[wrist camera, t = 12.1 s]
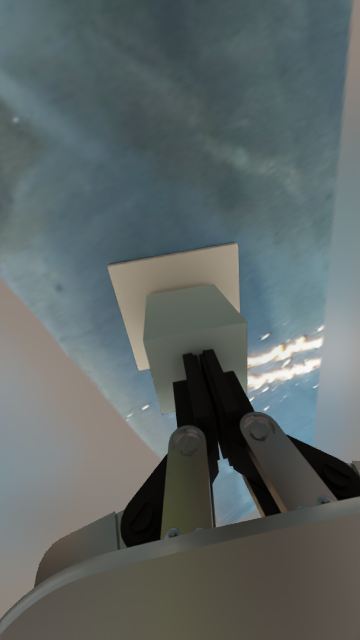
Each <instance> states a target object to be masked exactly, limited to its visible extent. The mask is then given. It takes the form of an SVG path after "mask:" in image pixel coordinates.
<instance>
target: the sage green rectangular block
mask: <svg viewBox="0 0 360 640" xmlns="http://www.w3.org/2000/svg"><path fill="white" fill-rule="evenodd" d="M143 344H144V348H145V351H146V355H147V359H148V363H149V367H150V371H151V374H152V378H153V382H154V386H155V390H156V394H157V397H158V401H159V405H160V409H161V413H162V415H163V414H168V413H173V412H176V410H175V401H174V393H173V382H176V381H181V380H186V374H185V368H184V363H183V357H182V355H183V354H188V353H192V354H193V355H197V358H198V361H199V364H200V368H201V363H200V355H199V354H203V351H204V350H209V349H213V350H214V352H215V354H216V356H217V359H218V361H219V363H220V365H221V368H222V370H223V372H227V371H232V370H233V371H234V372H235V374H236V376H237V378H238V380H239V382H240V384H241V386H242V388H243V390H244V392H245V394H246V396H247V321H246V320H245V319H244V318H243V317H242V316H241V315H240V313H239V312H238V311H237V310H236V309H235V308H234V306H233V305H232V304H231V303H230V302H229V301H228V300H227V298H226V297H225V296H224V295H223V294H222V293H221V292H220V290H219V289H218V288H217V287H216V286H215V285H214V284H210V285H204V286H198V287H193V288H187V289H181V290H175V291H169V292H164V293H158V294H152V295H147V297H146V309H145V321H144V333H143ZM201 371H202V370H201Z"/></svg>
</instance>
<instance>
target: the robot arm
mask: <svg viewBox="0 0 360 640" xmlns="http://www.w3.org/2000/svg"><path fill="white" fill-rule="evenodd" d="M199 355H200V363H201V368H200V364H199V361H198V358H197V355H193V354H192V353H188V354H183V355H182V357H183V363H184V368H185V374H186V380H181V381H176V382H173V393H174V401H175V410H176V419H177V428H178V429H176V430H175V431H174V432H173V433H172V435H171V437H170V440H169V445H168V453H167V455H166V456H165V457H164V458H163V460H162V461H161V462H160V464H159V465H158V466H157V467H156V469H155V470H154V471H153V473H152V474H151V475H150V477H149V478H148V479H147V480H146V482H145V483H144V484H143V485H142V487H141V488H140V489H139V491H138V492H137V493H136V494H135V496H134V497H133V498H132V500H131V501H130V502H129V503H128V505H127V507H126V508H125V510H123V511H121V512H119V513H117V514H116V513H115V512H113V513H111V514H109V515H107V516H105V517H103V518H101V519H99V520H97V521H95V522H93V523H91V524H89V525H87V526H85V527H83V528H81V529H79V530H77V531H75V532H73V533H71V534H69V535H67V536H65V537H63V538H61V539H59V540H58V541H56V542H55V543H54V544H52V546H51V547H50V548H49V549H48V550H47V552H46V553H45V554H44V556H43V558H42V560H41V562H40V564H39V567H38V571H37V574H36V580H35V585H34V588H33V589H32V590H31V591H29V592H28V593H27V594H26V595H24V596H23V597H22V598H21V599H20V600H19V601H18V602H17V603H16V604H14V605H13V606H12V607H11V608H10V609H9V610H8V611H7V612H6V613H5V614H4V616H3V617H2V618H1V619H0V640H360V461H352V463H351V464H349V463H345V462H343V461H341V460H339V459H338V458H336V457H333V456H331V455H329V454H327V453H325V452H323V451H321V450H318V449H316V448H314V447H312V446H310V445H308V444H306V443H304V442H301V441H299V440H297V439H295V438H293V437H291V436H289V435H286V434H285V433H284V432H283V430H282V429H281V428H280V426H279V425H278V424H277V423H276V421H275V420H274V419H273V418H272V417H270V416H269V415H267V414H265V413H261V412H255V411H254V409H253V407H252V405H251V403H250V401H249V399H248V397H247V396H246V394H245V392H244V390H243V388H242V386H241V384H240V382H239V380H238V378H237V376H236V374H235V372H234V371H233V370H232V371H227V372H223V370H222V368H221V365H220V363H219V361H218V359H217V356H216V354H215V352H214V350H213V349H209V350H204V351H203V354H199ZM201 370H202V371H201ZM218 442H219V446H220V449H221V453H222V456H223V459H226V458H228V461H229V465H230V466H233V468H234V470H236V471H237V472H239V473H240V474H242V477H243V480H244V482H245V484H246V486H247V488H248V490H249V492H250V494H251V496H252V498H253V500H254V502H255V504H256V506H257V509H258V511H259V513H260V515H261V517H262V518H257V519H253V520H248V521H244V522H239V523H235V524H230V525H225V526H221V527H216V518H215V506H214V494H213V482H214V480H215V478H216V477H217V475H218V473H219V470H218V461H217V460H220V456H219V447H218Z"/></svg>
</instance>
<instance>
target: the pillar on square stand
mask: <svg viewBox="0 0 360 640" xmlns="http://www.w3.org/2000/svg"><path fill="white" fill-rule="evenodd" d="M107 267H108V271H109V274H110V277H111V281H112V284H113V287H114V291H115V294H116V297H117V300H118V304H119V307H120V310H121V314H122V317H123V320H124V324H125V327H126V330H127V333H128V337H129V340H130V343H131V347H132V350H133V353H134V357H135V360H136V363H137V367H138V370H139V371H140V370H145V369H150V367H149V363H148V359H147V355H146V351H145V348H144V344H143V333H144V321H145V309H146V297H147V295H152V294H158V293H164V292H169V291H175V290H181V289H187V288H193V287H198V286H204V285H210V284H214V285H215V286H216V287H217V288H218V289H219V290H220V292H221V293H222V294H223V295H224V296H225V297H226V298H227V300H228V301H229V302H230V303H231V304H232V305H233V306H234V308H235V309H236V310H237V311H238V312H239V313H240V300H239V263H238V244H237V243H229V244H223V245H217V246H212V247H206V248H200V249H195V250H189V251H183V252H177V253H172V254H166V255H160V256H155V257H149V258H143V259H137V260H132V261H126V262H120V263H115V264H109V265H108V266H107Z"/></svg>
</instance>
